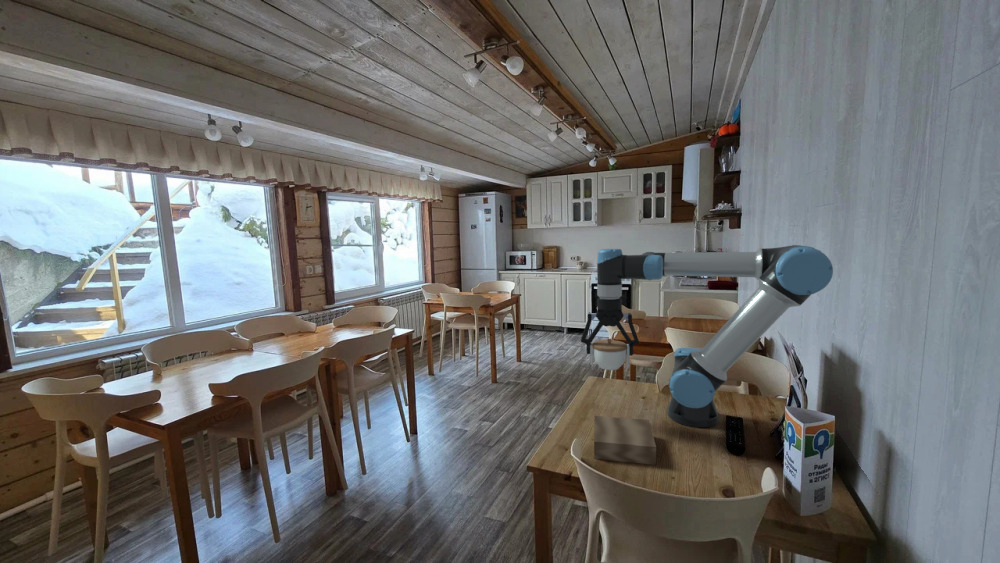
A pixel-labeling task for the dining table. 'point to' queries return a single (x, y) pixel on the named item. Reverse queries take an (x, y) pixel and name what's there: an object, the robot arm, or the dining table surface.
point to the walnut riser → (624, 440)
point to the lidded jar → (609, 353)
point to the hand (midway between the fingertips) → (609, 364)
